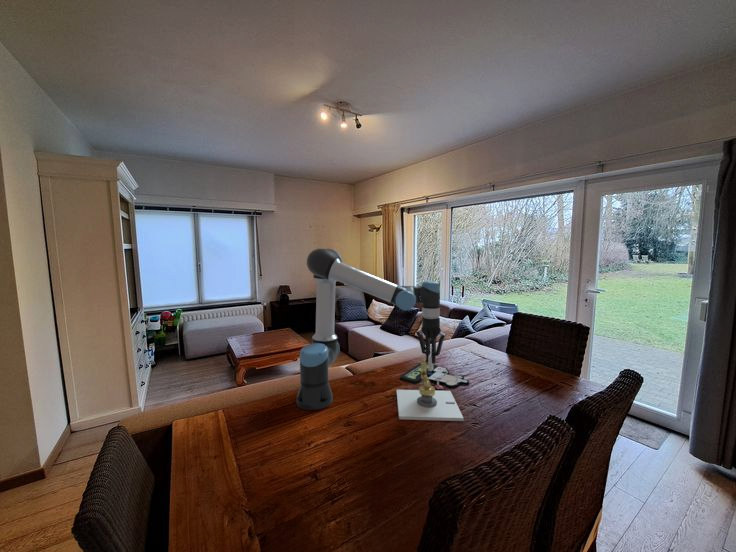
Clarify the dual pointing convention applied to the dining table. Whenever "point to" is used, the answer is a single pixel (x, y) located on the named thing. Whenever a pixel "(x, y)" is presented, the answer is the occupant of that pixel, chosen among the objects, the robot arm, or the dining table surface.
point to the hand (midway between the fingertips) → (430, 369)
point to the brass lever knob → (425, 382)
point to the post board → (427, 406)
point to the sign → (434, 377)
